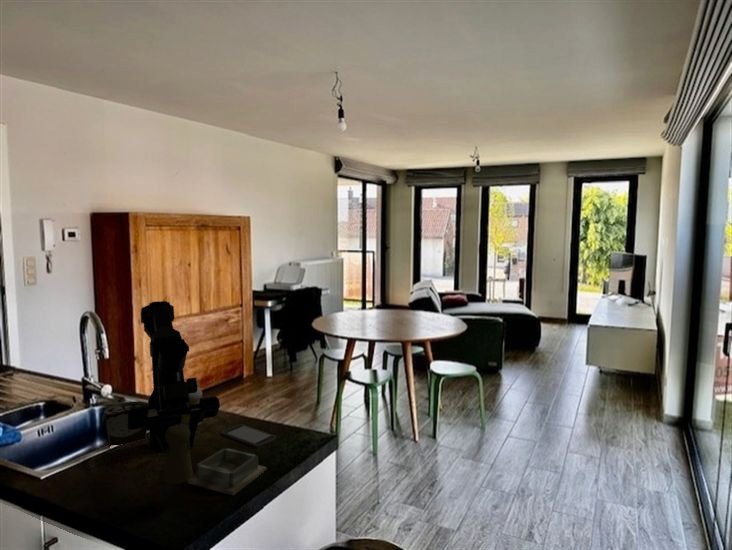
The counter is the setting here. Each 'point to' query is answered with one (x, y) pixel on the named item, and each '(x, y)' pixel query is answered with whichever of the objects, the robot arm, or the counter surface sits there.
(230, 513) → the counter surface
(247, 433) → the smartphone
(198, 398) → the supplement bottle
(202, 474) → the collar holder
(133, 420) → the robot arm
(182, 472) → the cork
